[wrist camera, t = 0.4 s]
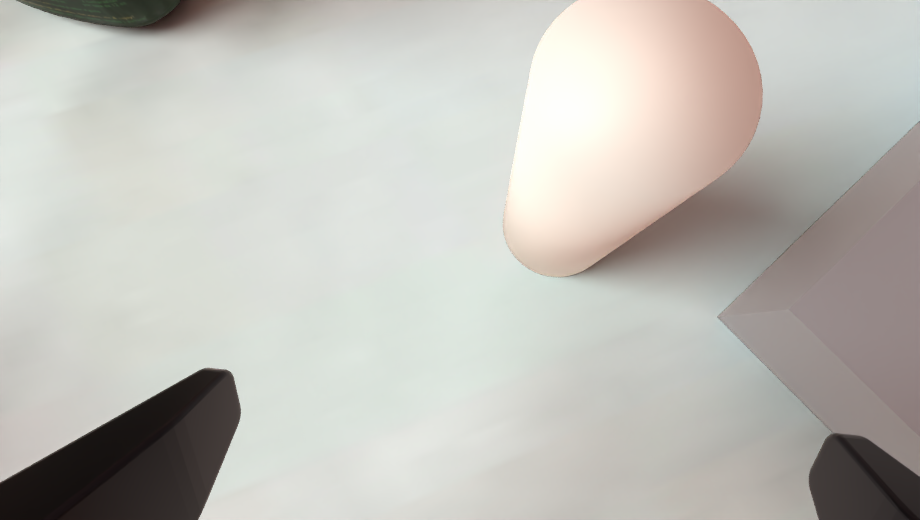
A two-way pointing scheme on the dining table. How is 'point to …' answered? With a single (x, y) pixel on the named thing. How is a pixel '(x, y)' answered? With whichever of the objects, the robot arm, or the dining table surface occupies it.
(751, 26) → the dining table surface
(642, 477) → the dining table surface
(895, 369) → the well block
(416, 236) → the dining table surface
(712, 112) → the pink cylinder peg
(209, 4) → the dining table surface
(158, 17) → the coffee jar
